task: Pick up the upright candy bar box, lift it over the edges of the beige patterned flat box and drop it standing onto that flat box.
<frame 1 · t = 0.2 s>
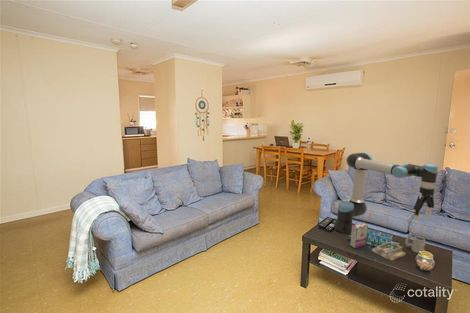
hand: (422, 218, 165), 28 cm above the table, fingers open, 13 cm apart
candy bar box: (357, 245, 181), on the table
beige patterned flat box: (388, 252, 172), on the table
mug: (414, 250, 177), on the table
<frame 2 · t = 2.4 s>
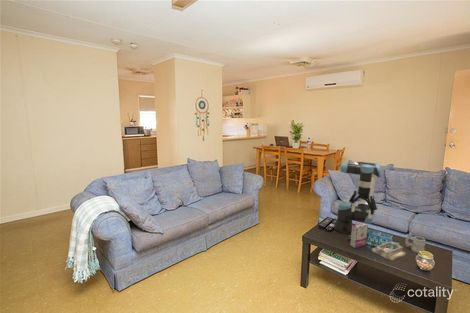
hand: (361, 214, 177), 24 cm above the table, fingers open, 13 cm apart
nothing on the table moved.
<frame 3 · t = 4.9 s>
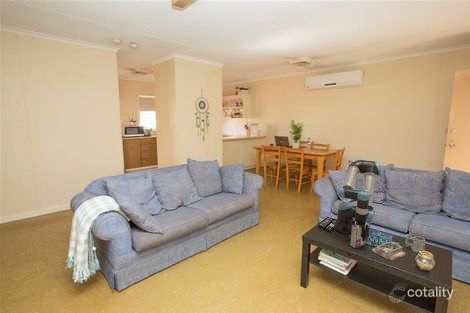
hand: (358, 242, 181), 2 cm above the table, fingers closed on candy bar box, 5 cm apart
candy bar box: (357, 245, 181), on the table, touching gripper
everything else where it was.
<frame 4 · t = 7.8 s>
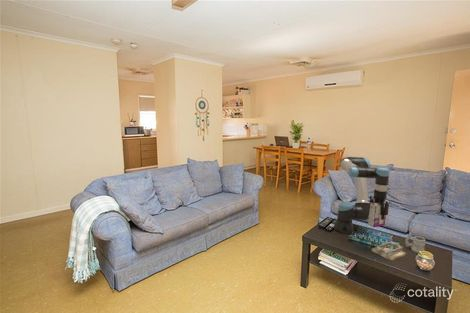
hand: (376, 221, 172), 21 cm above the table, fingers closed on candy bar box, 5 cm apart
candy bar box: (376, 225, 173), point 19 cm above the table, touching gripper
everything else where it was.
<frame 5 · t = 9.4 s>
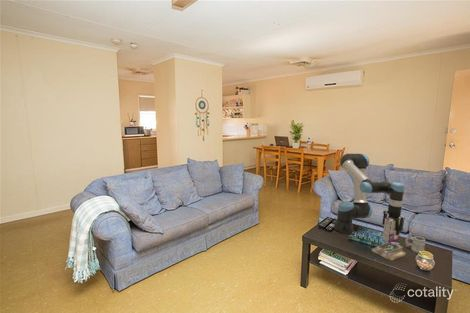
hand: (390, 237, 170), 12 cm above the table, fingers closed on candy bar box, 5 cm apart
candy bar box: (390, 240, 170), point 10 cm above the table, touching gripper
everything else where it was.
when the fingers open (6 cm above the table, at t = 10.8 s): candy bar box drops 2 cm, resting on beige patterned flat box.
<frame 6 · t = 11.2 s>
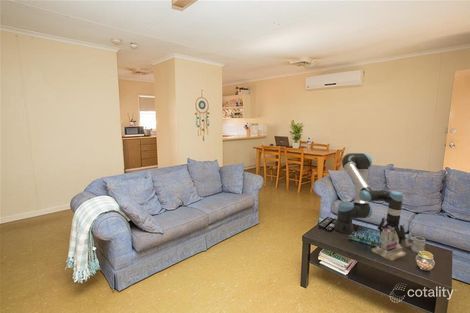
hand: (389, 243, 171), 7 cm above the table, fingers open, 10 cm apart
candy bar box: (388, 250, 172), point 1 cm above the table, touching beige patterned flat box
everything else where it was.
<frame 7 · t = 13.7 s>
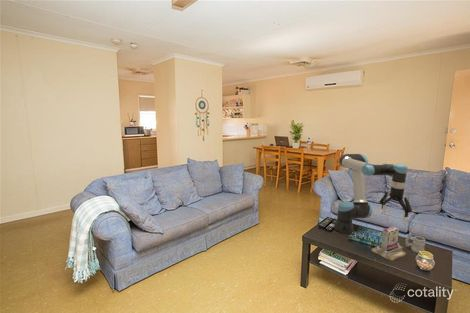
hand: (393, 217, 168), 27 cm above the table, fingers open, 13 cm apart
nothing on the table moved.
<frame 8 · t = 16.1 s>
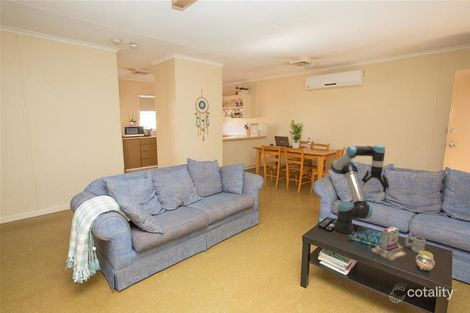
hand: (373, 193, 187), 37 cm above the table, fingers open, 13 cm apart
nothing on the table moved.
at the end: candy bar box inside the target area on the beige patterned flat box (0.2 cm from its centre), point 1.3 cm above the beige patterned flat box's base; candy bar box tilted 0°; the gripper is holding nothing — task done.
